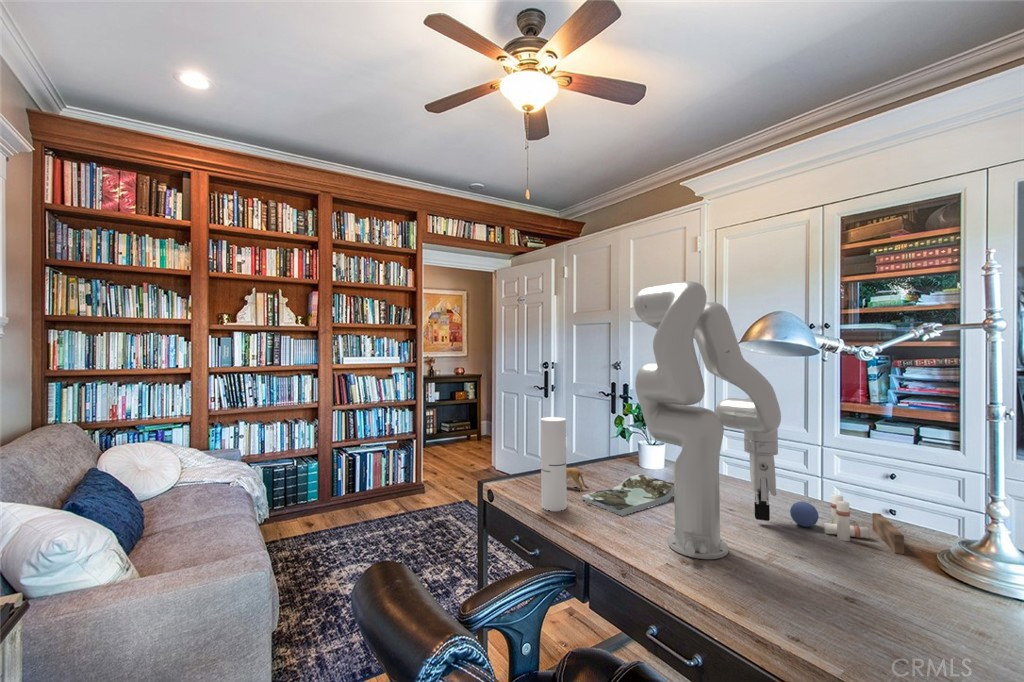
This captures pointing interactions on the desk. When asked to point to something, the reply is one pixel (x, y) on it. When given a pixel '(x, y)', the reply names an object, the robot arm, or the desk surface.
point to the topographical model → (632, 495)
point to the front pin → (854, 530)
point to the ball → (804, 514)
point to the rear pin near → (843, 521)
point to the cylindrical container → (553, 463)
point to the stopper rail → (888, 533)
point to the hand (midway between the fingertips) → (762, 518)
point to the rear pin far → (835, 506)
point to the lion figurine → (575, 477)
